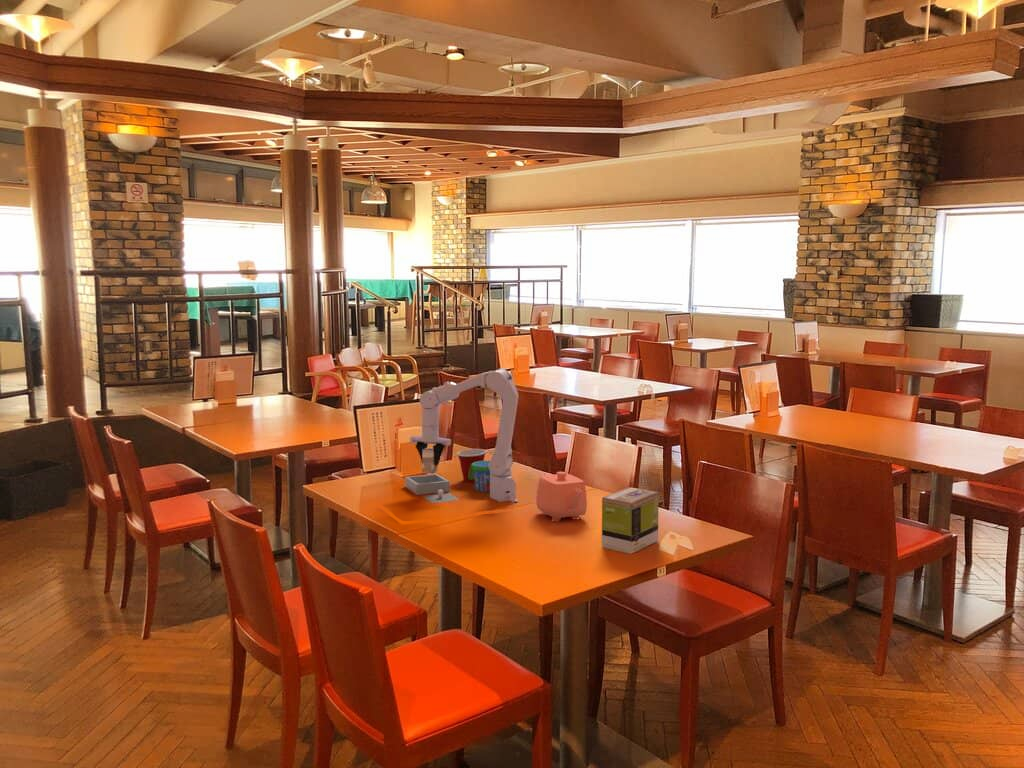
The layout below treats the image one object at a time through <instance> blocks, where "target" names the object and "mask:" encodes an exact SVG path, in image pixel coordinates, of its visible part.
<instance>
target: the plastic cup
mask: <svg viewBox="0 0 1024 768" xmlns="http://www.w3.org/2000/svg"><path fill="white" fill-rule="evenodd" d="M486 454H487V449H482V448H468V449H467V448H466V449H462V450H460V451H457V452H456V455H457V457H458V459H459V462H460V470H461V474H462V479H463V482H465V483H470V484H471V483H472V484H473V483H475V479H472V480H470V479H469V477H468V474H469V468H470V466H471V465H472V463H474V462H478V461H485V455H486ZM473 475H474V473H473Z"/></svg>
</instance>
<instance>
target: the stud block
mask: <svg viewBox="0 0 1024 768" xmlns="http://www.w3.org/2000/svg"><path fill="white" fill-rule="evenodd" d="M421 497H422V498H423V499H425V500H427V501H428V502H429V503H431V504H435V503H436V504H437V503H445V502H454V501H461V499H459V498H458V497H456V496H455V495H453V494H452V493H450V492H443V490H438V493H432V494H423V495H421Z"/></svg>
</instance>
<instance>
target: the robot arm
mask: <svg viewBox="0 0 1024 768" xmlns="http://www.w3.org/2000/svg"><path fill="white" fill-rule="evenodd" d="M479 386H480V387H483V388H486V387H487V388H488V389H490V390H491V391H492V392H495V393H496V395H498V397H500V398H501V400H502V405H501V410H500V411H501V412H500V417H499V423H498V431H497V438H496V441H495V442H496V444H495V446H494V447H495V448H494V449H493V452H492V457H491V458H490V460H488V461H489V464H488V467H489V470H490V492H489V498H491V499H493V500H495V501H497V502H499V503H501V502H508V501H510V502H512V503H518V502H519V500H518V499H516V496H517V495H516V490H517V487H516V481H515V480H514V479H513V477H512V470H511V468H512V466H513V464H514V460H513V459H514V458H513V456H512V455H513V454H512V452H513V449H512V441H513V435H514V430H515V422H516V416H517V408H518V404H519V396H520V395H519V393H518V390H517V386H516V384H515V382H514V376H513V375H512V374H511V373H510V372H509V371H508V370H507V369H504V368H498V369H496V370H490V371H487V372H486V371H485V372H482V373H479V374H477V375H474V376H472V377H469V378H467V379H465V380H463V381H461V382H458V383H455V382H453V381H446V382H443V385H439V386H438V387H436V386H434V387H432V388H431V390H428V391H424V392H423V393H422V394H421V395H420V397H419V404H420V406H422V407H421V409H422V410H421V411H422V412H421V435H422V436H421V435H420V436H418V435H417V436H415V435H413V436H410V437H409V442H410V443H411V444H412V443H416V444H415V449H416V450H417V452H418V454H419V457H420V460H421V461H420V462H422V450H423V449H425V448H427V447H428V444H429V445H430V444H431V445H433V446H432V448H433V450H434V465H436V466H437V465H438V466H439V464H440V459H441V456H442V453H443V451H444V449H445V447H446V446H447V447H448V446H451V445H452V439H451V438H444V437H440V434H439V433H440V431H439V429H440V427H439V426H440V423H439V420H440V411H439V409H440V407H439V406H440V405H442V404H445V403H447V402H450V401H452V400H455V399H457V398H459V397H460V396H459V395H460V393H462V392H464V391H466V390H467V391H468V390H471V389H474V388H475V387H479Z"/></svg>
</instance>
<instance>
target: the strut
mask: <svg viewBox="0 0 1024 768" xmlns="http://www.w3.org/2000/svg"><path fill="white" fill-rule="evenodd" d="M421 465H422V470H421V472H422V473H424V474H436V473H437V472H438V471H439V464H438V465H437V466H436V465H434V450H433V447H428V446H427V448H425V449H423V450H422V461H421Z"/></svg>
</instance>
